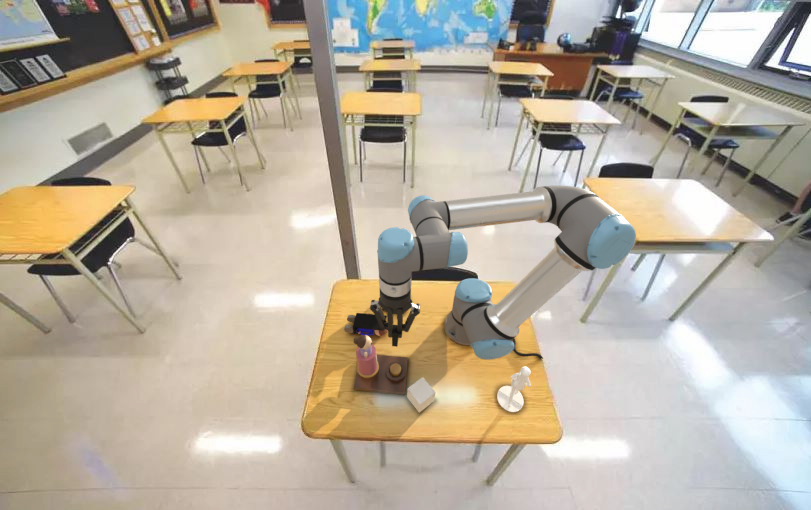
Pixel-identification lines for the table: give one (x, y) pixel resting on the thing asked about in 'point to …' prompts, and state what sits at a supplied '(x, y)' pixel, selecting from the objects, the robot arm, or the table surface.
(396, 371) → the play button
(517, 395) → the figurine
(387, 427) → the table surface
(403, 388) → the brown wooden base
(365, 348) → the doll
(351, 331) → the figurine character
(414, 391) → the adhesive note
